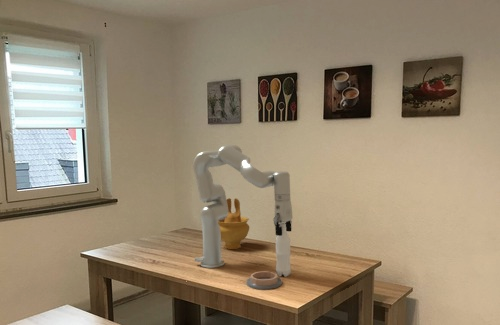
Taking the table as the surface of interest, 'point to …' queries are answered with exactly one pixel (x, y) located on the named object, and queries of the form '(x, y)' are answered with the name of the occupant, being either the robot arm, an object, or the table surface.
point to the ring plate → (264, 280)
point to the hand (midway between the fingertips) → (283, 233)
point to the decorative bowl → (233, 226)
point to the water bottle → (283, 253)
